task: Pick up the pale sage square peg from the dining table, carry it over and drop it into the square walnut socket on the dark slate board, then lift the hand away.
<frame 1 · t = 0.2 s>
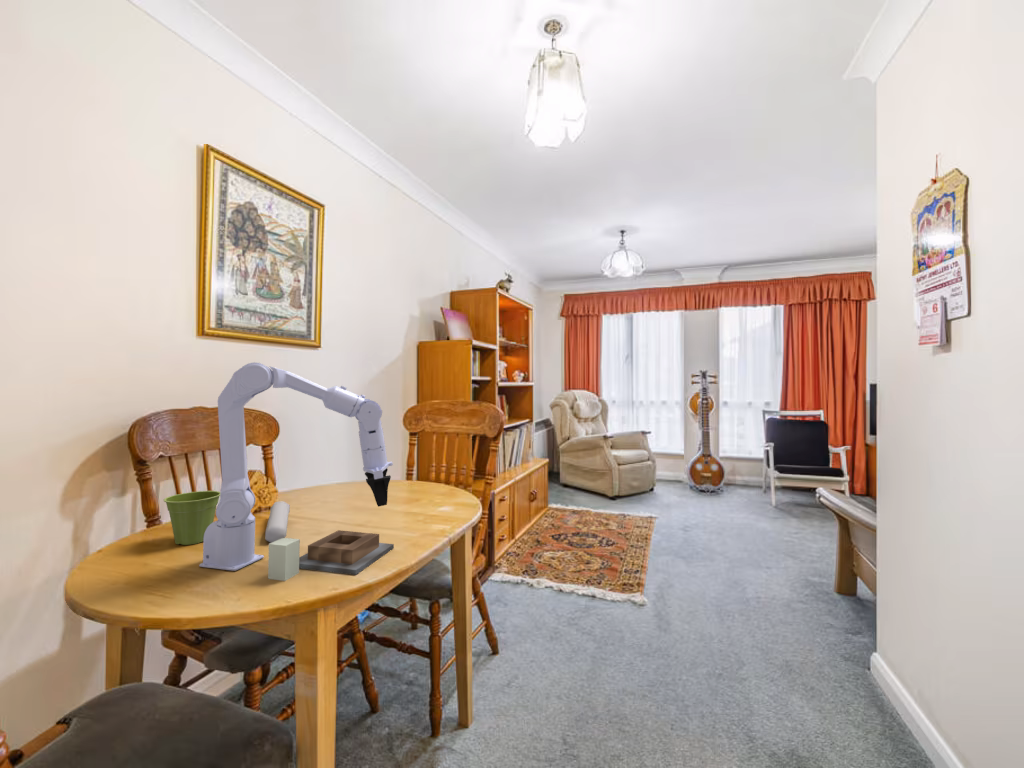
hand: (381, 501, 109), 11 cm above the table, tool pointing down, fingers open, 7 cm apart
socket: (344, 557, 100), on the table
peg: (283, 575, 90), on the table
tube: (278, 531, 120), on the table
plant pot: (192, 541, 110), on the table
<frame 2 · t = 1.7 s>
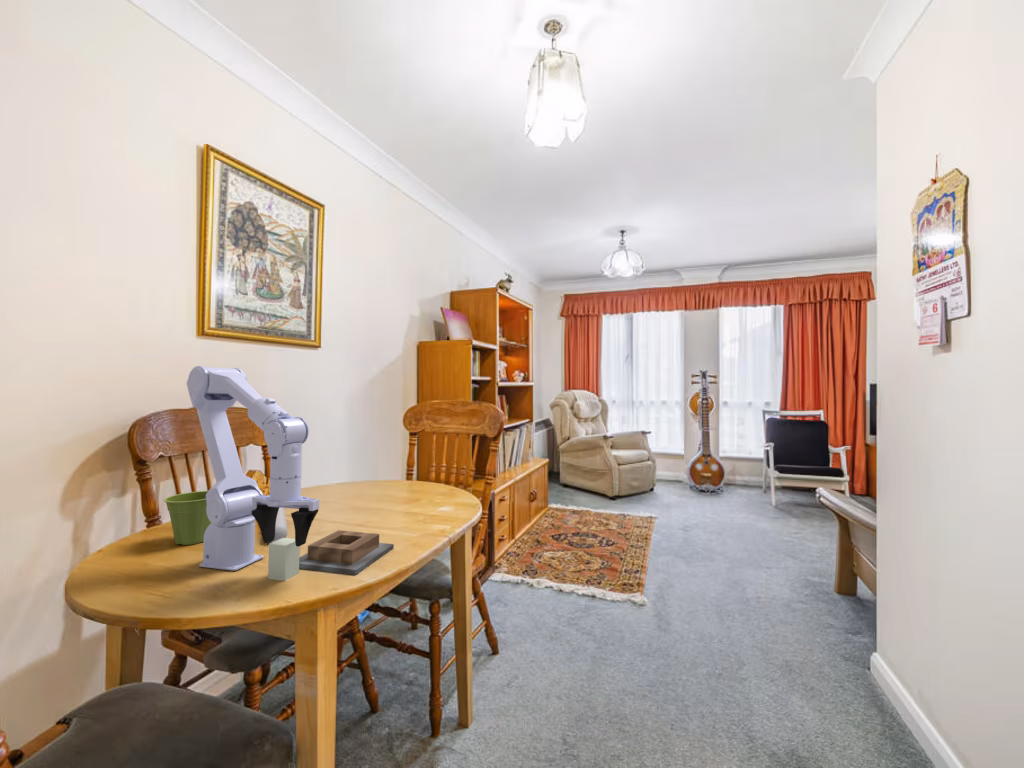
hand: (284, 543, 90), 7 cm above the table, tool pointing down, fingers open, 7 cm apart
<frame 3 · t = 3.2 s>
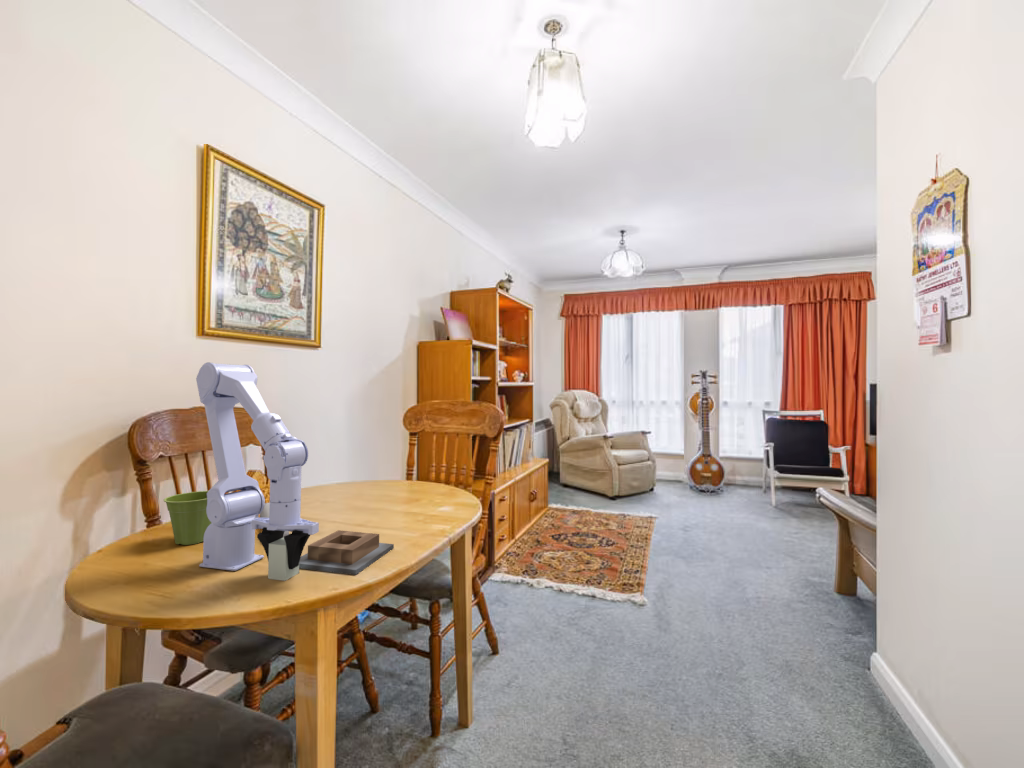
hand: (284, 566, 90), 2 cm above the table, tool pointing down, fingers closed on peg, 4 cm apart
peg: (283, 575, 90), on the table, touching gripper
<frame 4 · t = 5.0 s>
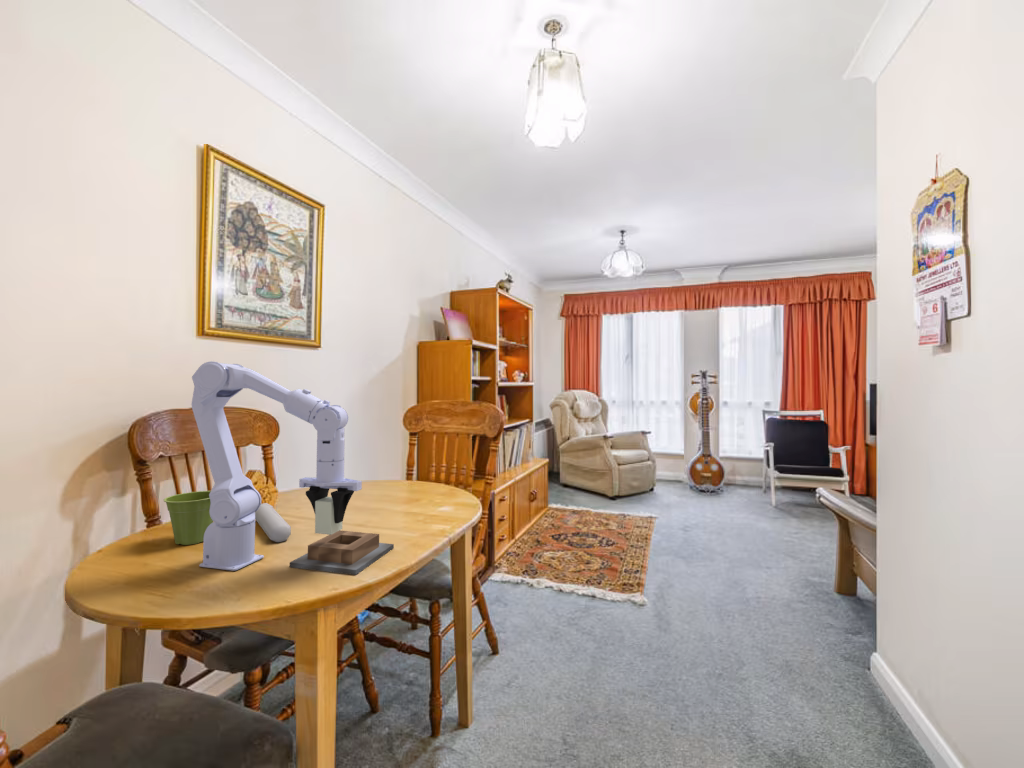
hand: (329, 521, 98), 9 cm above the table, tool pointing down, fingers closed on peg, 4 cm apart
peg: (328, 531, 97), point 7 cm above the table, touching gripper
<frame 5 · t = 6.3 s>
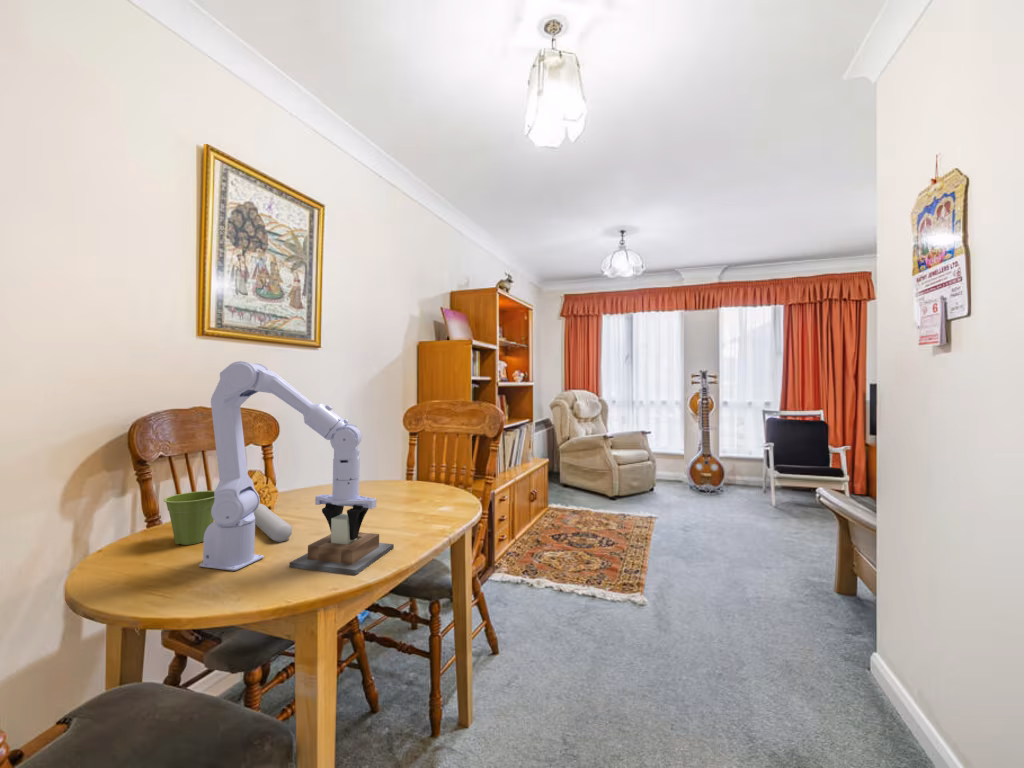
hand: (345, 537, 100), 4 cm above the table, tool pointing down, fingers closed on peg, 4 cm apart
peg: (344, 547, 100), point 2 cm above the table, touching gripper
when the fingers open (4 cm above the table, at t = 6.9 s): peg drops 1 cm, resting on socket.
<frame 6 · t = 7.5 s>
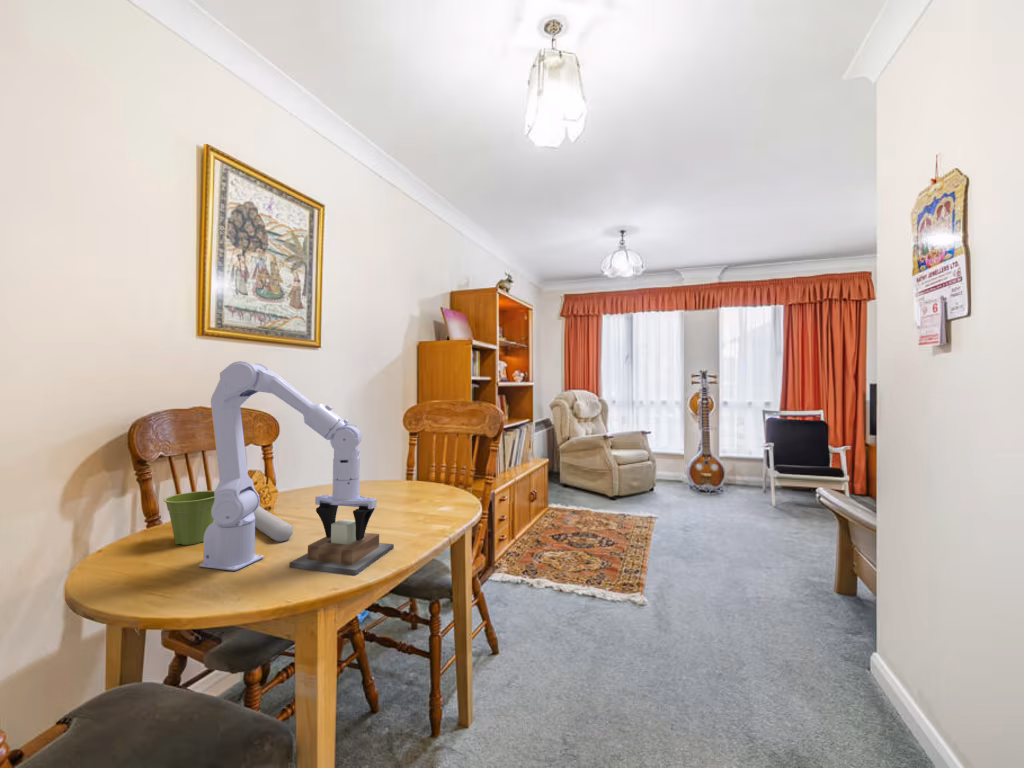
hand: (345, 537, 100), 4 cm above the table, tool pointing down, fingers open, 7 cm apart
peg: (343, 553, 100), point 1 cm above the table, touching socket
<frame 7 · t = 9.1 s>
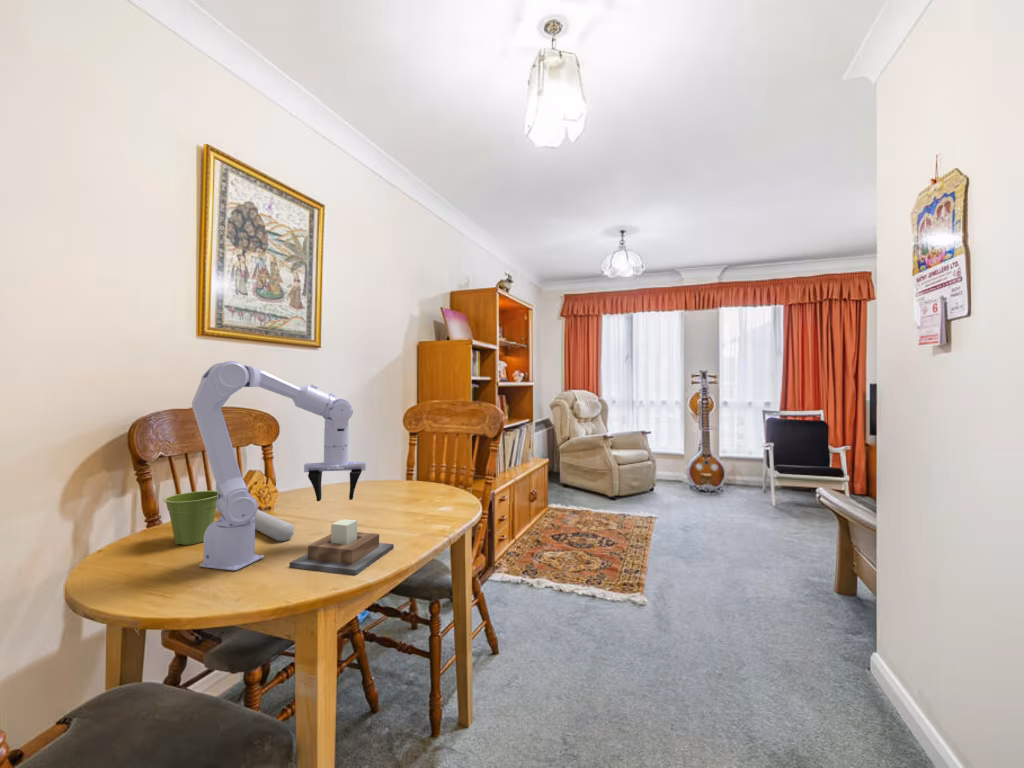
hand: (335, 499, 111), 10 cm above the table, tool pointing down, fingers open, 7 cm apart
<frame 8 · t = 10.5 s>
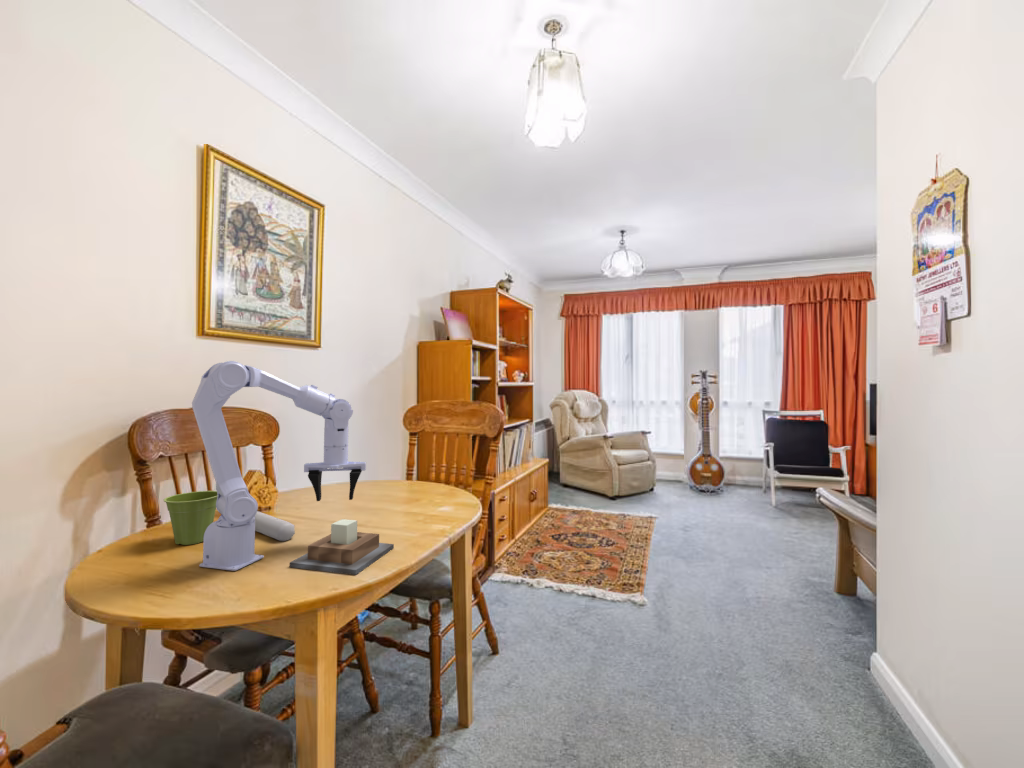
hand: (335, 499, 111), 10 cm above the table, tool pointing down, fingers open, 7 cm apart
at the end: peg 0.3 cm off-centre on the socket, point 1.0 cm above the socket's base; peg tilted 0°; the gripper is holding nothing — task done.
